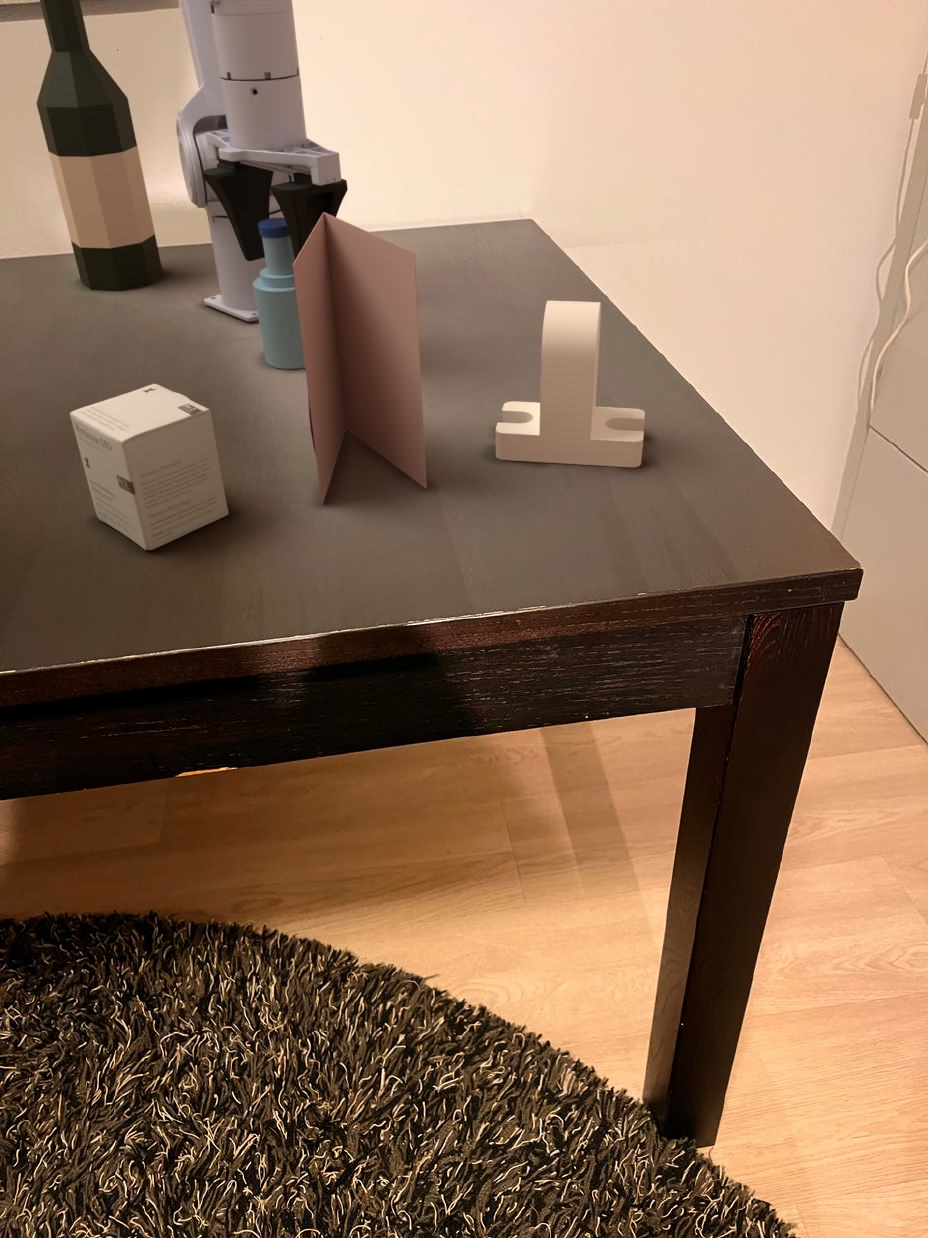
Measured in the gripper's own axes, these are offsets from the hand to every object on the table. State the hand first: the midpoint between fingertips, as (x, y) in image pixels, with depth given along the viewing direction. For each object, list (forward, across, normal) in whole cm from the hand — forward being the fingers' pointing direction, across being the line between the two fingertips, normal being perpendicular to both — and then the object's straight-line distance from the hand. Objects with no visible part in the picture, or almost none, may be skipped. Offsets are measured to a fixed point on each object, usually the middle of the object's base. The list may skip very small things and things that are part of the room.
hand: (284, 267), depth 79 cm
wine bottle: (+8, -32, +1) cm, 33 cm away
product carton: (+8, +16, -22) cm, 28 cm away
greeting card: (+8, +20, -8) cm, 23 cm away
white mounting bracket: (+8, +28, +3) cm, 29 cm away
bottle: (+8, 0, 0) cm, 8 cm away
